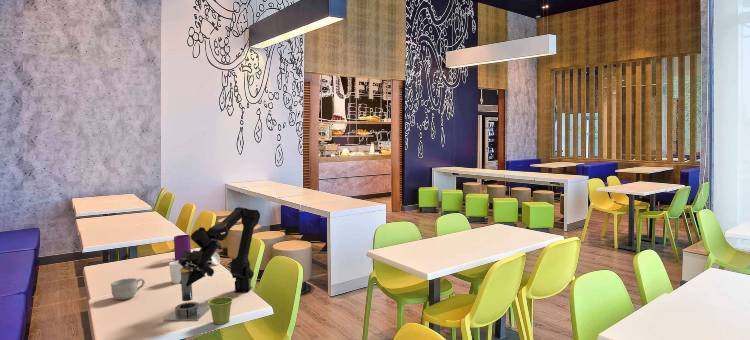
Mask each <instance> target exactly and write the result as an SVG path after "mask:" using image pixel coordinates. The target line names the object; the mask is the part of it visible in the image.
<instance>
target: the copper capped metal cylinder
mask: <svg viewBox="0 0 750 340" xmlns="http://www.w3.org/2000/svg"><path fill="white" fill-rule="evenodd" d="M191 271H192V268H190V267H187V268H182V269H180V272H181V284H180V287H181V301H183V302H191V301H192V300H193V283H192V284H191V285H189V286H186V283H187V281H188V280H189V278H190V276H191Z"/></svg>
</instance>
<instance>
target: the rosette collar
mask: <svg viewBox="0 0 750 340" xmlns="http://www.w3.org/2000/svg"><path fill="white" fill-rule="evenodd" d="M209 310H211V308H210V306H201V305H200V303H199V302H196V301H185V302H183V303H180V304H177V305H176V306H175V307H174V310H173V311H172V312H171V313H170V314H168V315H167V316H166V317H165V318H163V319H162V321H163V322H165V321H166V322H167V321H168V322H169V321H170V322H171V321H173V322H183V320H184V321H185V320H186V321H185V322H188V320H191V321H190V322H193V321H194V322H197V321H199V320H200V319H201V318H202V317H203V316H204V315H205V314H206V313H207V312H208V311H209Z"/></svg>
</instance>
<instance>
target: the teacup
mask: <svg viewBox="0 0 750 340" xmlns="http://www.w3.org/2000/svg"><path fill="white" fill-rule="evenodd" d="M139 282H141V285H139ZM145 284H146V281H145V279H144V278H138V279H137V278H134V277H131V278H129V277H128V278H121V279H118V280H114V281H112V282H111V283H110V287H111V288H110V289H111V295H112V297H113V298H115V299H116V300H118V301H119V300H120V301H122V300H123V301H124V300H128V299H132V298H133V297H134V296H135V295H136V294H137V292H138V291H140V289H142V288H143V287H144V285H145ZM138 285H139V286H138Z"/></svg>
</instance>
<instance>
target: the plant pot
mask: <svg viewBox="0 0 750 340" xmlns="http://www.w3.org/2000/svg"><path fill="white" fill-rule="evenodd" d="M233 301H234V299H233V297H230V296H218V297H214V298H211V299H209V300H208V301H207V304H208V305H209V306H208V307H210V312H211V317H212V322H213V324H214V325H216V324H217V325H224V324H227V323H228V322H230V318H231V305H232V302H233Z"/></svg>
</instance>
